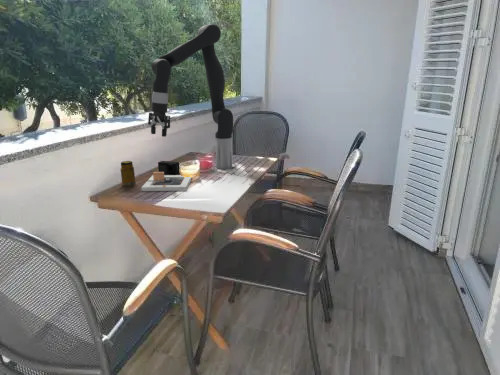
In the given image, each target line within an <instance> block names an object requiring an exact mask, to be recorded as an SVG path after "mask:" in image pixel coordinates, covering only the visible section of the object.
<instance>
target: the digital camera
mask: <svg viewBox="0 0 500 375" xmlns="http://www.w3.org/2000/svg"><path fill="white" fill-rule="evenodd" d="M157 166H158V172H164V175H178V174H179V175H180V173H179V169H180V162H179V161H173V160H172V161H169V160H160V161H158V162H157Z"/></svg>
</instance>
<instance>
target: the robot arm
mask: <svg viewBox="0 0 500 375" xmlns="http://www.w3.org/2000/svg"><path fill="white" fill-rule="evenodd" d="M221 36H222V33H221V29H220V27H219V26H218V25H216V24H213V23H209V24H205V25H202V26H201V27H200V28H199V29H198V32H197V36H194V37H193V38H191V39H190V40H187V41H186V42H183V43H181V44H180V45H178V46H176V47H175V48H173V49H172V50H170V51H169V52H168V53H166V54H162V55H161V56H160V57H158V58H156V59H155V60H153V62H152V63H151V71H152V72H153V73H154V74H155V76H156V77H155V79H154V80H153V82H152V95H151V112H149V113H148V121H147V124H148V125H149V126H150V128H151V129H150V134H151V135H156V131H157V130H156V129H157V127H156V126H157V125H158V124H159V125H160V126H161V128H162V129H161V137H162V138H163V137H167V135H168V134H167V132H168V129H170V128H171V116H170V115H166V114H167V112H168V103H169V102H168V100H169V98H168V93H169V92H168V91H169V90H168V89H169V81H170V78H171V72H172V67H175V66H178V65H180V64H181V63H183V62H184V61H186V60H188V59H189V58H190V57H192V56H193V55H195V54H196V53H198V52H200V51H201V53H202V57H203V63H204V69H205V74H206V75H205V77H206V80H207V85H208V91H209V97H210V101H211V112H212V113H211V114H212V115H211V116H212V120H213V121H214V123H216V125H217V131H216V132H215V140H214V141H215V160H216V161H215V163H216V166H215V168H216V169H221V170H230V169H233V163H234V161H233V138H232V137H233V133H234V114H233V112H232V111H231V110H230V109H228V108H226V107H225V106H226V105H225V101H224V100H225V99H224V95H225V94H224V93H225V88H226V80H225V74H224V69H223V67H222V64H221V63H220V61H219V58H218V57H217V54H216V50H215V45H214V44H217V43H218V42H219V40H220V39H221Z"/></svg>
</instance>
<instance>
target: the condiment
mask: <svg viewBox="0 0 500 375" xmlns="http://www.w3.org/2000/svg"><path fill="white" fill-rule="evenodd" d="M120 174H121V176H120V177H121V183H122V187H127V188H128V187H133V186H135V185H136V176H135V175H136V174H135V167H134V164H133V161H131V160H124V161H121V162H120Z"/></svg>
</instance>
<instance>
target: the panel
mask: <svg viewBox="0 0 500 375" xmlns="http://www.w3.org/2000/svg"><path fill="white" fill-rule="evenodd" d="M181 175H182V174H179V175H178V174H177V175H171V174H164V178H176V179H179V180H180V181H182V182H180V185H157V183H156V182H157V181H154V180H153V174H152V175H151V177H150V178H149V179H148V180H147V181H146V182H144V184H143V185H142V186H141V192H169V191H170V192H177V191H178V192H179V191H180V192H181V191H184V192H185V191H187V189H188V188H189V186H190V184H191V181H192V180H191V177H185V178H184V177H183V176H181ZM155 184H156V185H155Z"/></svg>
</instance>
